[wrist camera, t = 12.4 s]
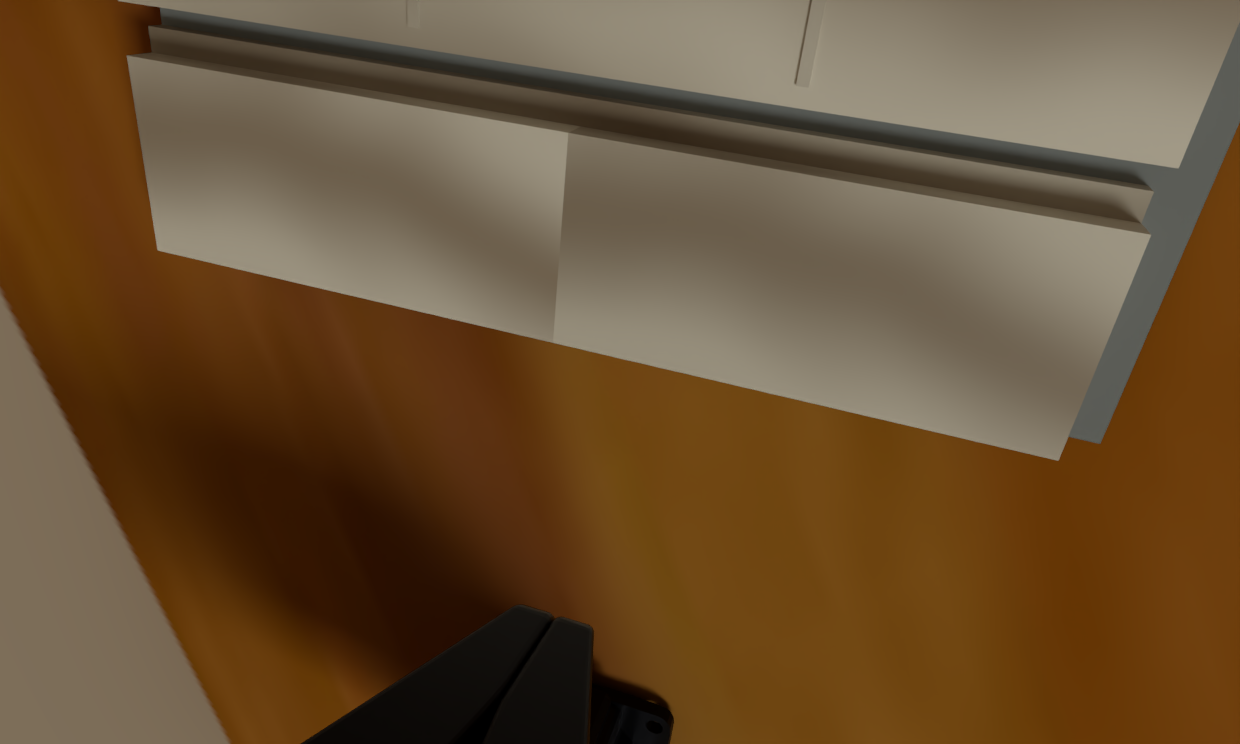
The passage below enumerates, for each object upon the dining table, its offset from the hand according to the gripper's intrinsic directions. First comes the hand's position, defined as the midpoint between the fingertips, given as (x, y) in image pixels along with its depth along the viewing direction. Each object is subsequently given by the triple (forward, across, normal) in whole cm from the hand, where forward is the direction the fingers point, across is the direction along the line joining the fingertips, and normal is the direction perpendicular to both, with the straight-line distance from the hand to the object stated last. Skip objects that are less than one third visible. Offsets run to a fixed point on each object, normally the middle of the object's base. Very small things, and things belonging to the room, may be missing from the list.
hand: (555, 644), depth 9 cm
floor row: (+12, +4, -1) cm, 12 cm away
